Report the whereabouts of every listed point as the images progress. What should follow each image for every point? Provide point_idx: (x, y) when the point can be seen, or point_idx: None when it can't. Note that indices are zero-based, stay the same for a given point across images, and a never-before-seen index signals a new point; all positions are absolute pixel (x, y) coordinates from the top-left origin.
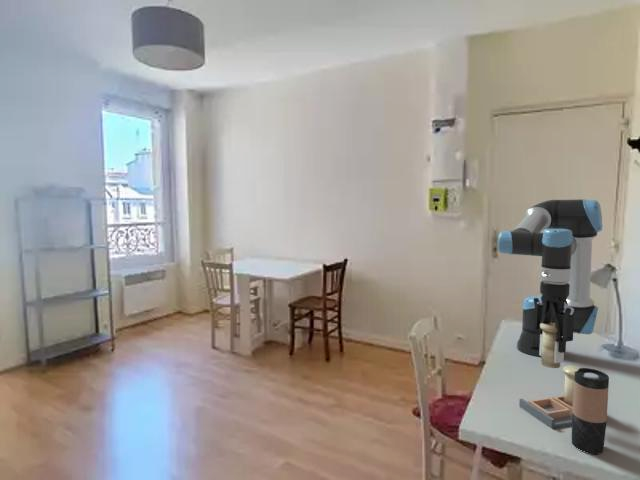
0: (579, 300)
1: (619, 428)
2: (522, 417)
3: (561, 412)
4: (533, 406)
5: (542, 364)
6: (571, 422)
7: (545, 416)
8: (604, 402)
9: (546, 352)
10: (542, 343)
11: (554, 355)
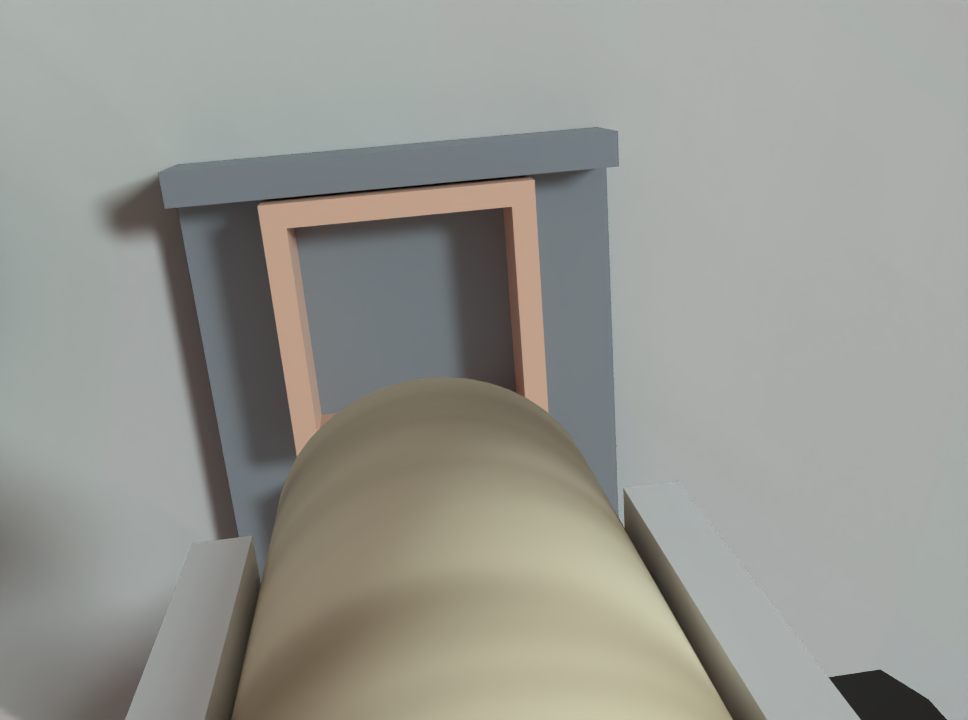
0: None
1: (132, 695)
2: (403, 18)
3: (283, 363)
4: (442, 171)
5: (458, 380)
6: (213, 387)
7: (246, 165)
8: None
9: (376, 533)
10: (610, 646)
11: (211, 632)
